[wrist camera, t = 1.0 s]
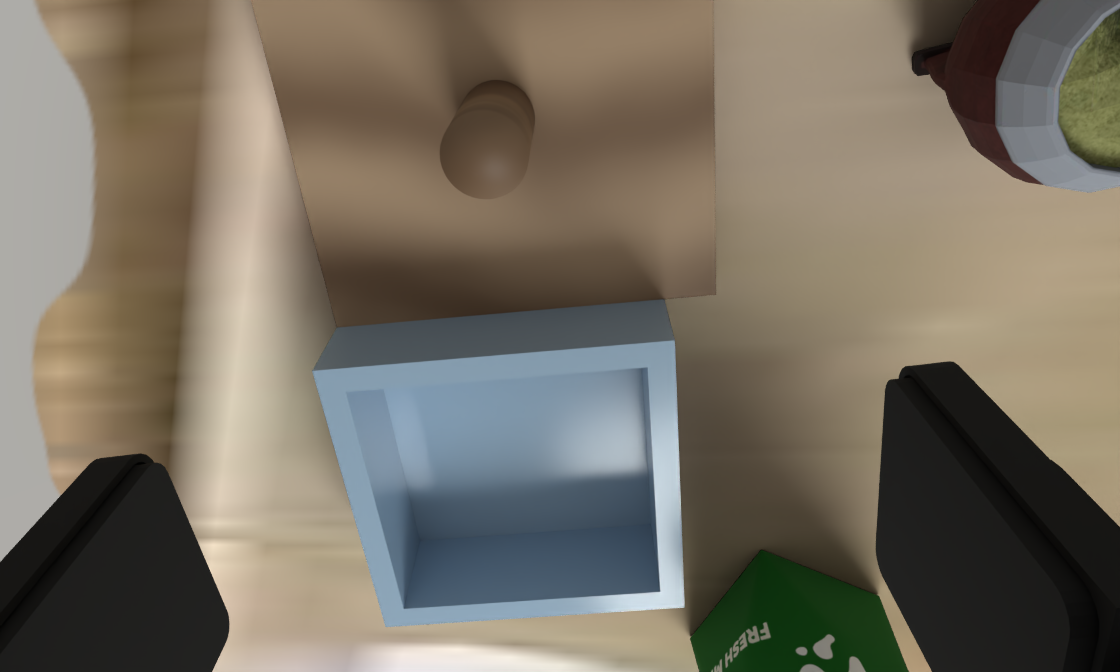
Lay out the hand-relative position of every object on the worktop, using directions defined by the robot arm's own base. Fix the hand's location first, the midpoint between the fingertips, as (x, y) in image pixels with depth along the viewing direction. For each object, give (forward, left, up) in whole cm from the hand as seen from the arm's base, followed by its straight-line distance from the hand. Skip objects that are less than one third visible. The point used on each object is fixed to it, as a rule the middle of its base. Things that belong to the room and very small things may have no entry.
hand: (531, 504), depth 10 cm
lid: (-1, -2, -21) cm, 21 cm away
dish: (+13, -3, -21) cm, 25 cm away
